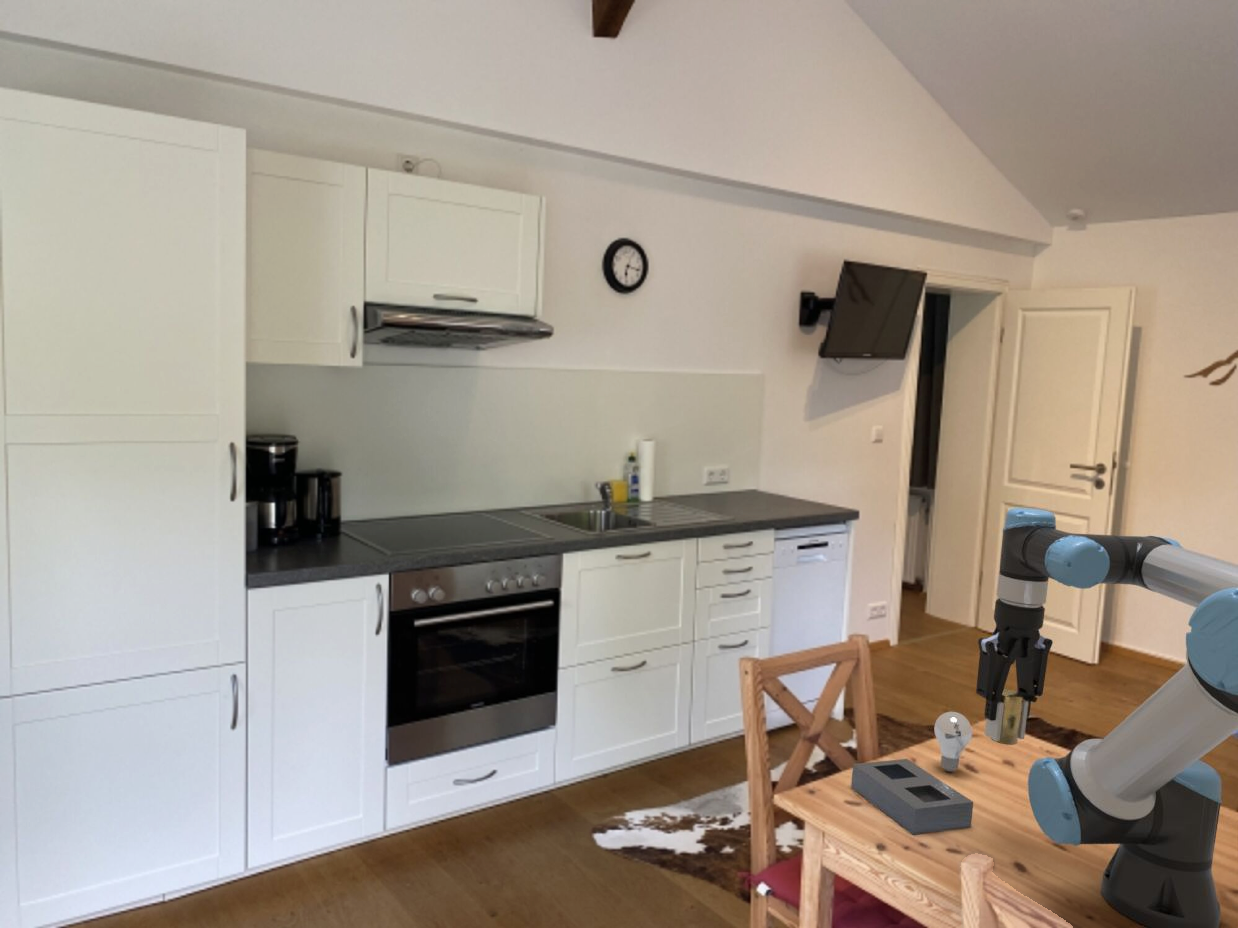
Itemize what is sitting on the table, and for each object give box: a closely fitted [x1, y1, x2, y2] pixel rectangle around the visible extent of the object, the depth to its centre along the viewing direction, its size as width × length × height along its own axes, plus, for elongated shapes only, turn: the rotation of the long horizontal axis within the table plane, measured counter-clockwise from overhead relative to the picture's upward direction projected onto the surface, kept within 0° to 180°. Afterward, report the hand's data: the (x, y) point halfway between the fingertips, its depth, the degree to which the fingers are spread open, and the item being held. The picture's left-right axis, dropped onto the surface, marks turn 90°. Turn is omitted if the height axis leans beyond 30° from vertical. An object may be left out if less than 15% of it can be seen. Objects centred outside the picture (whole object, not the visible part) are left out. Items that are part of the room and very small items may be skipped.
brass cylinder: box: [989, 688, 1023, 746], centre depth 152 cm, size 4×4×8 cm
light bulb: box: [934, 711, 973, 774], centre depth 178 cm, size 7×7×12 cm
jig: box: [850, 758, 974, 836], centre depth 162 cm, size 18×12×4 cm, turn 20°
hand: (1004, 736), depth 152 cm, fingers closed on brass cylinder, 4 cm apart
